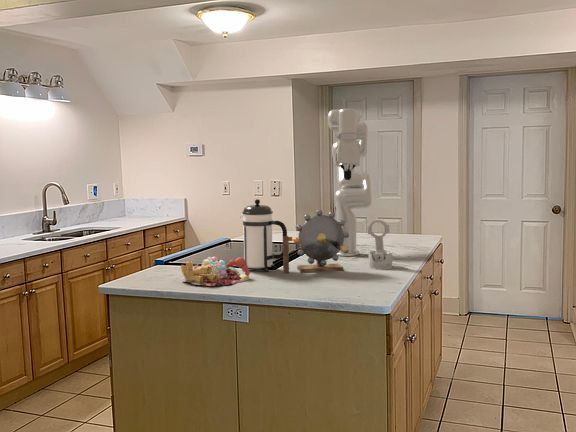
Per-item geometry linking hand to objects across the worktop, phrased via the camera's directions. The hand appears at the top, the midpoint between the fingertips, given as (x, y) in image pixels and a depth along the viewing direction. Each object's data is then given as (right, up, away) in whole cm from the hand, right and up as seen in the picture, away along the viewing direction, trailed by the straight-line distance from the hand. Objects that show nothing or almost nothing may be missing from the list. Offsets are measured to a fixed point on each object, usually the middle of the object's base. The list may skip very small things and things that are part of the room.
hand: (347, 179), depth 261 cm
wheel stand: (-16, -39, -10) cm, 43 cm away
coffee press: (-37, -39, -7) cm, 54 cm away
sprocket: (-21, -32, -19) cm, 43 cm away
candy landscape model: (-55, -42, -26) cm, 74 cm away
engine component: (+13, -38, -5) cm, 40 cm away
